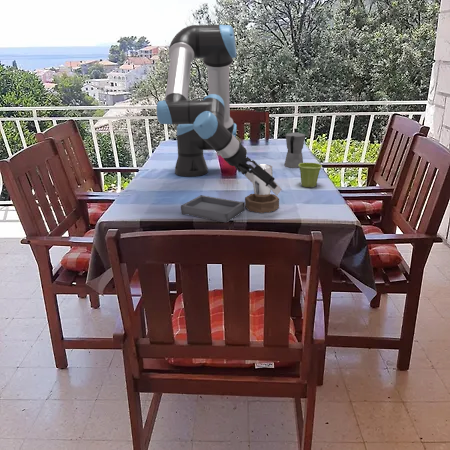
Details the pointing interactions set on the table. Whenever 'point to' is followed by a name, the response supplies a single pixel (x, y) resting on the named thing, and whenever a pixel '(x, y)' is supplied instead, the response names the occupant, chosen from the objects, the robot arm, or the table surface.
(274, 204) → the ring holder
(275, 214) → the table surface
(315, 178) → the plant pot
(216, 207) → the tray
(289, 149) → the coffeepot
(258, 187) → the beer glass
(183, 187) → the table surface
